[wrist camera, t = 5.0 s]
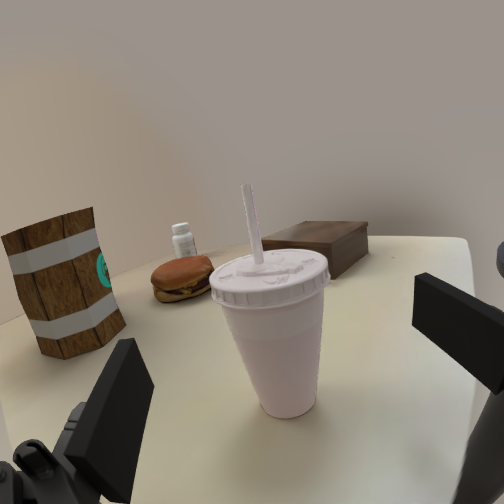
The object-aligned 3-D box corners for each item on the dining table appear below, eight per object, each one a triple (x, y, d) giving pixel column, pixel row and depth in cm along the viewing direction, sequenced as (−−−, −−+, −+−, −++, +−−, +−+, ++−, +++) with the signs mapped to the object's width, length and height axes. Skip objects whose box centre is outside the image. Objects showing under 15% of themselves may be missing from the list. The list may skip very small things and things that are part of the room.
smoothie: (280, 362, 22) (250, 182, 19) (352, 384, 18) (340, 170, 14) (222, 408, 18) (166, 200, 14) (299, 449, 13) (260, 185, 10)
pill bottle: (202, 257, 60) (194, 221, 58) (188, 264, 56) (179, 226, 54) (186, 257, 62) (179, 222, 60) (173, 264, 59) (164, 227, 57)
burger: (143, 298, 41) (135, 269, 40) (187, 277, 48) (181, 250, 47) (186, 309, 35) (176, 274, 34) (231, 282, 42) (225, 252, 41)
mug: (114, 353, 26) (69, 212, 23) (25, 362, 25) (-19, 243, 21) (142, 290, 45) (120, 201, 42) (74, 304, 43) (51, 221, 40)
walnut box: (370, 251, 44) (368, 221, 43) (334, 280, 36) (331, 242, 35) (308, 247, 53) (305, 221, 52) (264, 270, 45) (259, 239, 44)
